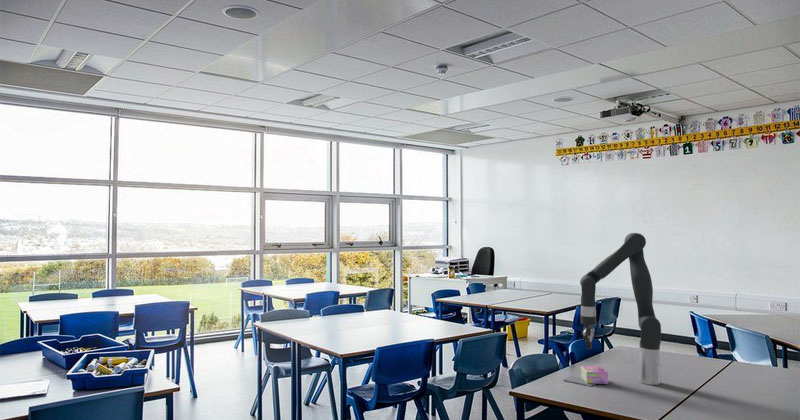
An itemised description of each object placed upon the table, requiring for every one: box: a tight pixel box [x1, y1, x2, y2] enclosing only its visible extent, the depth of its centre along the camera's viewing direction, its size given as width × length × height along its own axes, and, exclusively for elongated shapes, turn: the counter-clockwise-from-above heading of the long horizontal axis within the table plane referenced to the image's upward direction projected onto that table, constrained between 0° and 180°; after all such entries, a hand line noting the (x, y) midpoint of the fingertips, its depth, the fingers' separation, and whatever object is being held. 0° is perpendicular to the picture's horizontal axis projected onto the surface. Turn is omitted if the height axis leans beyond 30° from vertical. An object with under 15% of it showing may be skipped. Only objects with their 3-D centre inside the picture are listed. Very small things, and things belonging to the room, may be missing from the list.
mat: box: [563, 375, 596, 388], centre depth 267 cm, size 14×10×1 cm
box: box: [580, 365, 609, 385], centre depth 267 cm, size 10×6×12 cm
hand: (588, 348), depth 275 cm, fingers closed
